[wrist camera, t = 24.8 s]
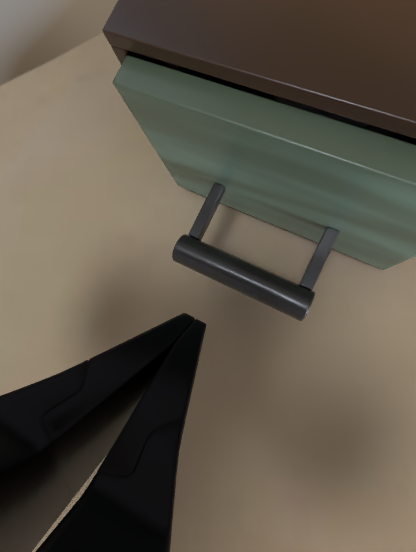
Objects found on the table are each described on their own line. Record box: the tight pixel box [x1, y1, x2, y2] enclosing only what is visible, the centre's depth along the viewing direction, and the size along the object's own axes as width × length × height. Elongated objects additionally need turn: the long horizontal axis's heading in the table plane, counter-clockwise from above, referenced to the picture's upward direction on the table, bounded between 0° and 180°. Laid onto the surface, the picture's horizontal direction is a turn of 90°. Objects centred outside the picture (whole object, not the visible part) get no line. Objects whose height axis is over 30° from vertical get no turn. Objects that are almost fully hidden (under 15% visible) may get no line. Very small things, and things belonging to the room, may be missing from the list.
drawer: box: [113, 55, 416, 321], centre depth 14 cm, size 17×13×9 cm
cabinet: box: [103, 0, 416, 139], centre depth 14 cm, size 13×14×10 cm
